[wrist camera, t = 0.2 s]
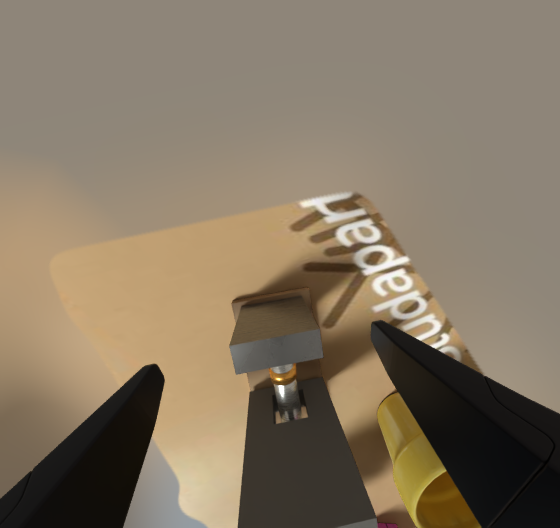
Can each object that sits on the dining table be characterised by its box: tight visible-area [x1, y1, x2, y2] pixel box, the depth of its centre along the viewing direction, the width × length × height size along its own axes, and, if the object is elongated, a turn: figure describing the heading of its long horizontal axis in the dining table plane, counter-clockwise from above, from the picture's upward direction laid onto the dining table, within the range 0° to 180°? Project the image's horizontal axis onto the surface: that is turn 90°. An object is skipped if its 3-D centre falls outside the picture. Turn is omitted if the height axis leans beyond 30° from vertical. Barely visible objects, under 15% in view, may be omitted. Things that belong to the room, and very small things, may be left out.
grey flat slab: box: [238, 377, 378, 528], centre depth 19 cm, size 2×9×12 cm, turn 99°
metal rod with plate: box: [230, 295, 324, 423], centre depth 21 cm, size 16×7×8 cm, turn 9°
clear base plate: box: [232, 287, 322, 424], centre depth 26 cm, size 18×9×1 cm, turn 9°
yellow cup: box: [377, 392, 481, 528], centre depth 24 cm, size 10×10×10 cm
